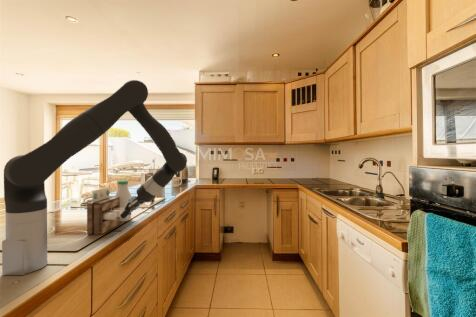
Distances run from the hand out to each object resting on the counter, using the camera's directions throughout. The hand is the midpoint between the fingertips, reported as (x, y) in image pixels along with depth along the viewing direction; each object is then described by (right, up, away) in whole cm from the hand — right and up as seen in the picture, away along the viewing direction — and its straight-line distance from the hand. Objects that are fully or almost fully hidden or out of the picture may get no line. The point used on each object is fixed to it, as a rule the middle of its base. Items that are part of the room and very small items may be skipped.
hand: (122, 216), depth 104 cm
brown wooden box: (-11, -7, +5) cm, 13 cm away
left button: (-6, -1, 0) cm, 6 cm away
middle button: (-6, -1, +5) cm, 8 cm away
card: (-12, +6, +5) cm, 14 cm away
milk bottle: (-9, -7, +20) cm, 23 cm away
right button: (-6, -1, +10) cm, 11 cm away
